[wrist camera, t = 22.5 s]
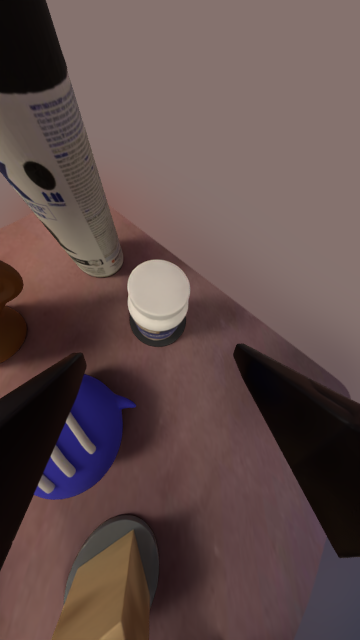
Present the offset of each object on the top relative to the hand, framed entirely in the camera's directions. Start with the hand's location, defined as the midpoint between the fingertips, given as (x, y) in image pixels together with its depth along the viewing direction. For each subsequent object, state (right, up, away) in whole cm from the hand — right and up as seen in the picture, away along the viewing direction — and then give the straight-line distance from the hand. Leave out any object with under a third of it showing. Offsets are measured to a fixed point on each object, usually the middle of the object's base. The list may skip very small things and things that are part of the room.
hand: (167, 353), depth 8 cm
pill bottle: (-2, +2, +12) cm, 12 cm away
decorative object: (-9, -9, +8) cm, 15 cm away
